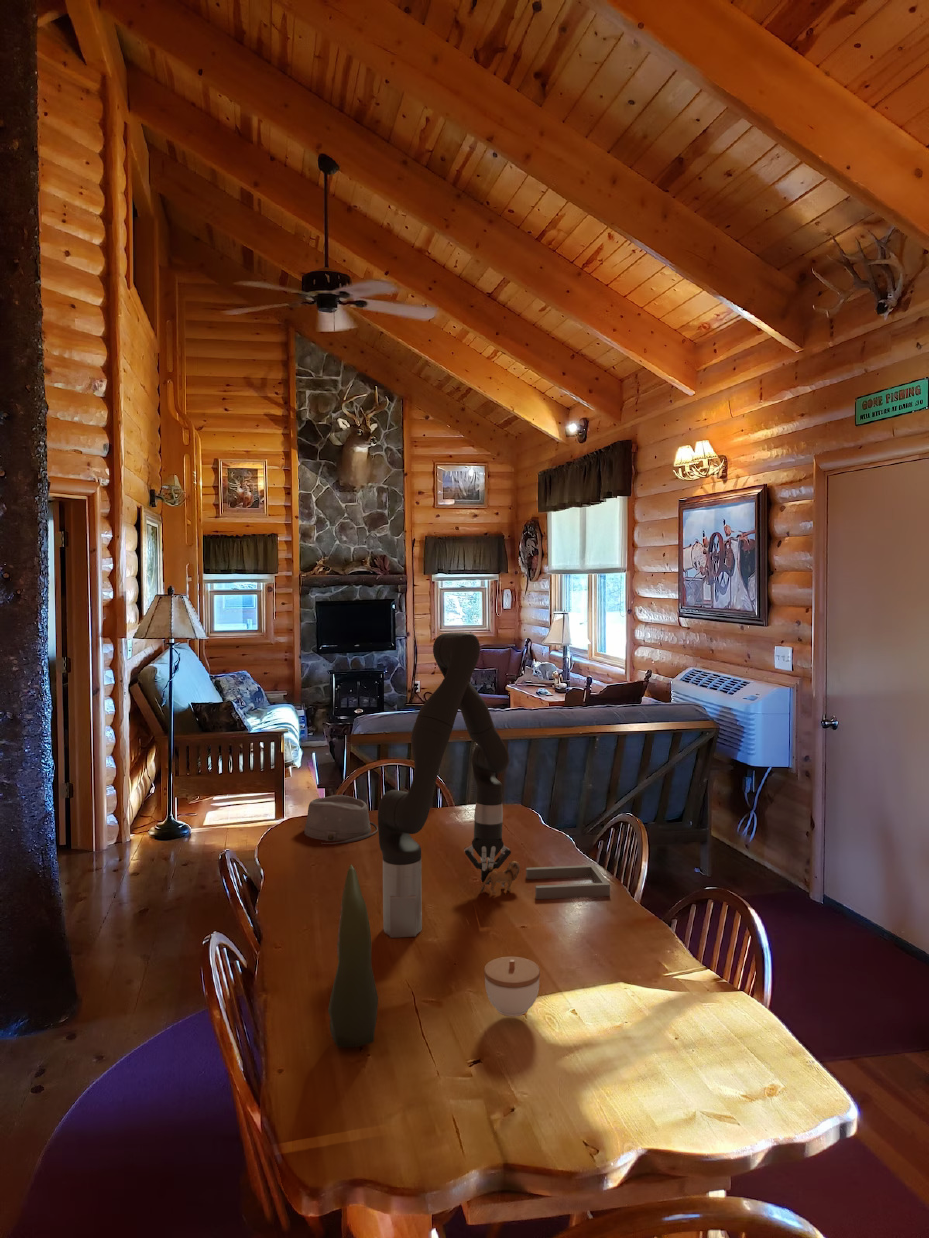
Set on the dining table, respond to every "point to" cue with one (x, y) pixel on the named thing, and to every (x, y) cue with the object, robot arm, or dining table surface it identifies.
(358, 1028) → the tentacle
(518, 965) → the lidded jar
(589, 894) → the bay
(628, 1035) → the dining table surface
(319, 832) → the fedora
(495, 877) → the lion figurine
